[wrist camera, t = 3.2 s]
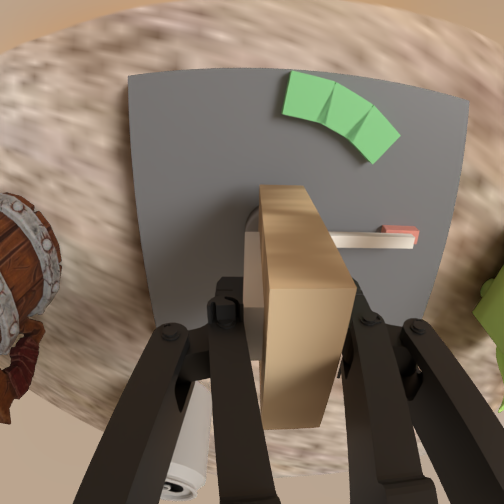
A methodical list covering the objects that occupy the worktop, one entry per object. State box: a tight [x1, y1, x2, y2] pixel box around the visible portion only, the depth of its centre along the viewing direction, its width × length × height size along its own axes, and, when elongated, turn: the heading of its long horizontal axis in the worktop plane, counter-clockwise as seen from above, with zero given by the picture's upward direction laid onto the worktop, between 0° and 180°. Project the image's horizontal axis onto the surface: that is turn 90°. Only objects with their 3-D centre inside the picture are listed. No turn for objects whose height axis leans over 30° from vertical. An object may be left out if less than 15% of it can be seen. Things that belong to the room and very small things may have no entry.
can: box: [160, 381, 212, 501], centre depth 26 cm, size 8×8×12 cm
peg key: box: [244, 185, 415, 430], centre depth 16 cm, size 11×7×12 cm, turn 89°
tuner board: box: [128, 68, 469, 330], centre depth 21 cm, size 22×20×3 cm
